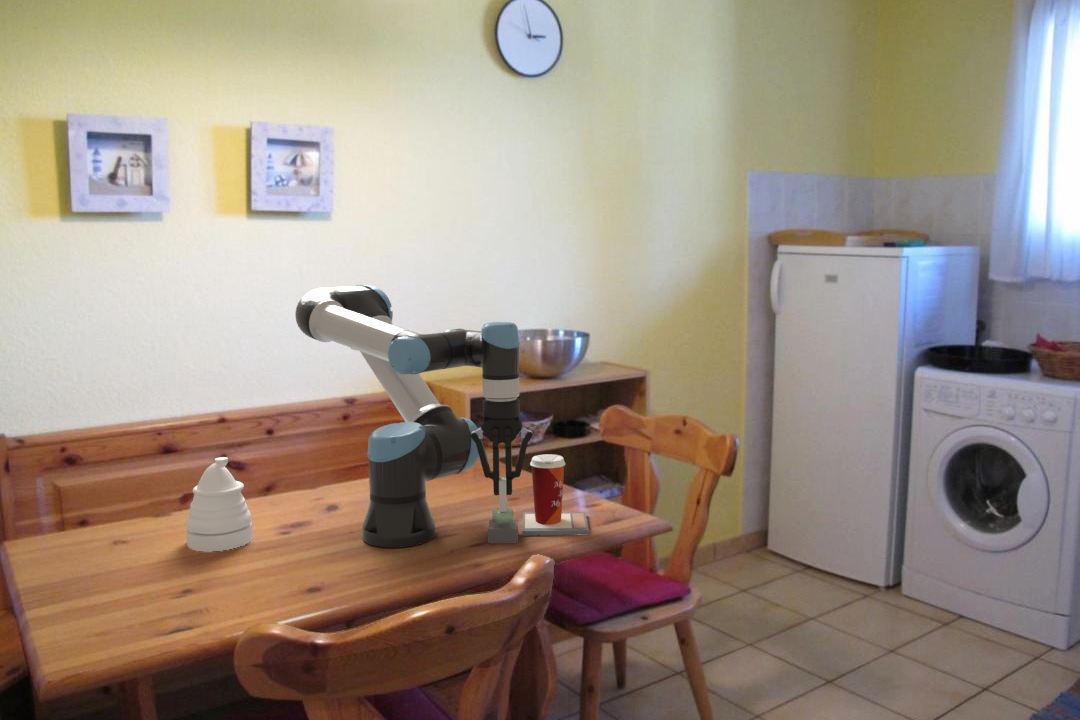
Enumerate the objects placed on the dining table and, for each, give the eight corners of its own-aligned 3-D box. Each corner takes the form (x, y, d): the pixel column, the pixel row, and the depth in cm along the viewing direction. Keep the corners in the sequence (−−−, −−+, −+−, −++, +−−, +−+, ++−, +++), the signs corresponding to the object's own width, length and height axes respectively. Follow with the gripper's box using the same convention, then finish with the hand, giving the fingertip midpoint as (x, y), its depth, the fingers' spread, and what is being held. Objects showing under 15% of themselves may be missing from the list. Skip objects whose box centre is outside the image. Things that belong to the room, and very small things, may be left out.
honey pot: (265, 538, 190) (261, 454, 187) (213, 556, 179) (208, 468, 177) (226, 528, 197) (221, 447, 194) (174, 544, 186) (168, 459, 184)
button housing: (488, 543, 185) (487, 529, 185) (489, 533, 191) (489, 520, 191) (517, 542, 186) (517, 528, 185) (517, 533, 191) (517, 519, 191)
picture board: (522, 535, 190) (522, 530, 190) (523, 516, 203) (523, 511, 203) (588, 534, 190) (588, 529, 190) (585, 516, 203) (585, 511, 203)
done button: (491, 523, 186) (491, 514, 185) (492, 517, 190) (492, 507, 190) (513, 523, 186) (513, 514, 186) (513, 516, 190) (513, 507, 190)
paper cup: (566, 526, 193) (565, 462, 191) (530, 526, 193) (529, 462, 191) (565, 514, 200) (565, 453, 198) (531, 515, 200) (530, 453, 199)
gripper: (533, 394, 188) (534, 504, 191) (470, 395, 188) (473, 505, 191) (533, 400, 181) (534, 514, 184) (468, 401, 181) (470, 515, 184)
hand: (503, 509), depth 188 cm, fingers closed
